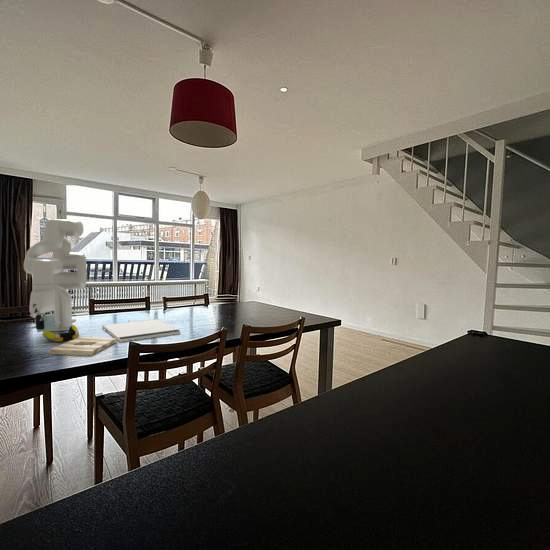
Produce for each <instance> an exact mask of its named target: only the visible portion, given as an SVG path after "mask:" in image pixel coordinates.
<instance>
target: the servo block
mask: <svg viewBox="0 0 550 550" xmlns="http://www.w3.org/2000/svg"><path fill="white" fill-rule="evenodd" d="M33 319H34V318H33ZM43 320H44V329H43V330H41V329H36V321H35V319H34V324H35V325H34V326H31V327H29V330H30V329H33V330H34V329H36V332H37V333H43V331H50V330H53V329H56V328H57V326H56V325H57V324H60V323H62V322H55V317H54V315H52V316H50V314H46V315H45V314H43Z"/></svg>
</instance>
